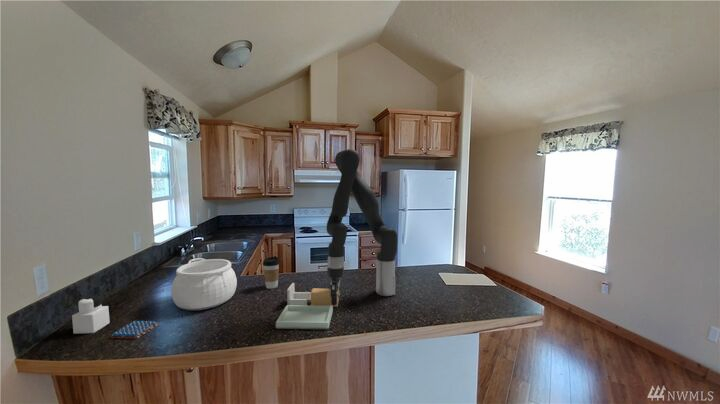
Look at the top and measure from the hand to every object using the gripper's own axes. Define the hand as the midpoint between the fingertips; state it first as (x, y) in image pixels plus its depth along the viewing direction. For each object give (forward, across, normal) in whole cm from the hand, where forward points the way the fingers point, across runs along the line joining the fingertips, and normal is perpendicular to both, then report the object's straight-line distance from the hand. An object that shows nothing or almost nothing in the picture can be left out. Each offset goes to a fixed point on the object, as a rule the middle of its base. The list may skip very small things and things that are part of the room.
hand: (334, 301), depth 122 cm
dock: (+1, 0, +16) cm, 16 cm away
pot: (+3, +2, +61) cm, 61 cm away
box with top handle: (+1, 0, +5) cm, 5 cm away
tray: (+2, -14, +10) cm, 17 cm away
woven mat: (+4, -24, +72) cm, 76 cm away
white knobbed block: (+4, -23, +90) cm, 93 cm away
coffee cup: (+2, +19, +36) cm, 41 cm away
